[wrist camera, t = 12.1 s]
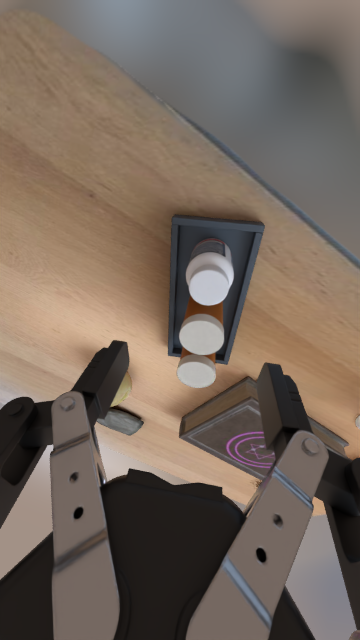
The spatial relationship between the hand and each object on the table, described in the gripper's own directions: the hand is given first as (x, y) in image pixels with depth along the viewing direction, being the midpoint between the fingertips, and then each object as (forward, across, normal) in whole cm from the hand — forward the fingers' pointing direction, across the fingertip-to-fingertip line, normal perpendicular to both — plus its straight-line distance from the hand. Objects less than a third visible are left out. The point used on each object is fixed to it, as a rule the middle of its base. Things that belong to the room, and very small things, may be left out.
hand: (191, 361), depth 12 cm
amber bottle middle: (+19, -1, +7) cm, 20 cm away
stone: (+20, +18, +46) cm, 53 cm away
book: (+19, -18, +40) cm, 48 cm away
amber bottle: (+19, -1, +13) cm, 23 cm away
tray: (+20, -1, +7) cm, 21 cm away
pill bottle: (+19, -1, 0) cm, 19 cm away
